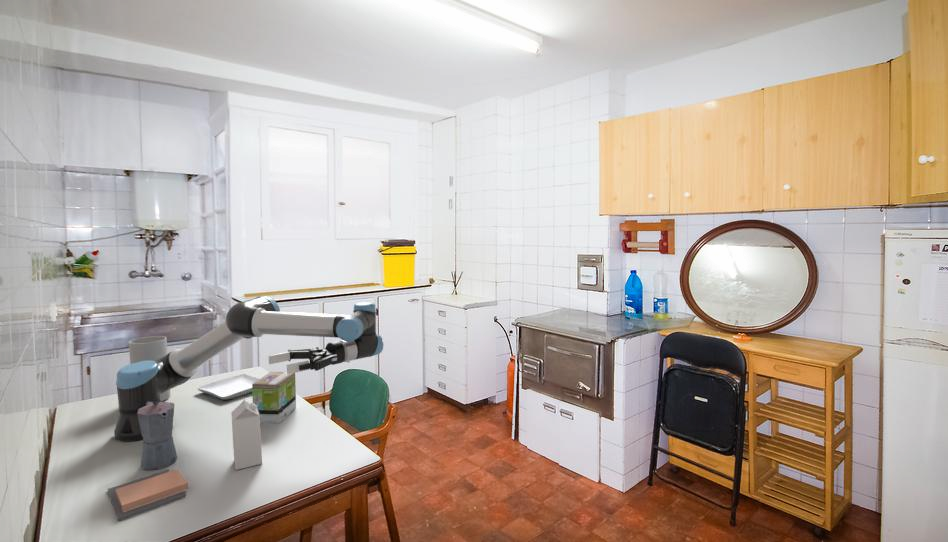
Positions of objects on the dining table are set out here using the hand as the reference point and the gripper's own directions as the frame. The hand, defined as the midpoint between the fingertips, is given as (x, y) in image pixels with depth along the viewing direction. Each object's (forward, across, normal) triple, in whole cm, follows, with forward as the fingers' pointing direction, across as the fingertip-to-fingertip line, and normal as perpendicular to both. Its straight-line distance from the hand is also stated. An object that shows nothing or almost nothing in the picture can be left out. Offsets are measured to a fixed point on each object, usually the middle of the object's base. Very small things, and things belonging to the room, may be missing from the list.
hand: (277, 364), depth 143 cm
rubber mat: (+35, +2, -28) cm, 45 cm away
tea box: (-10, +29, -28) cm, 42 cm away
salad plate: (-8, +68, -29) cm, 75 cm away
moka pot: (+29, +19, -29) cm, 45 cm away
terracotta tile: (+27, 0, -26) cm, 37 cm away
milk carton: (+10, 0, -28) cm, 30 cm away
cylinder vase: (+19, +81, -29) cm, 88 cm away
